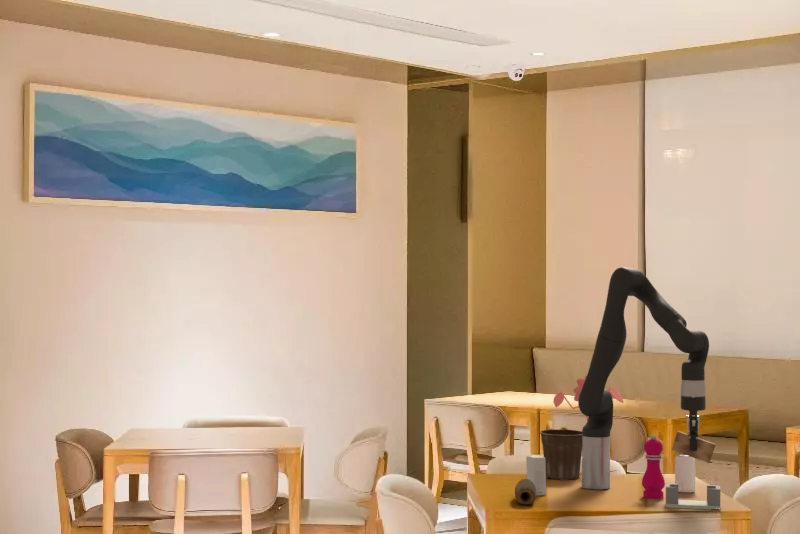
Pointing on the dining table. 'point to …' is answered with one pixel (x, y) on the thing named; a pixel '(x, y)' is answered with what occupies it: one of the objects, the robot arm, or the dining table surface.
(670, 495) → the holder
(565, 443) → the plant pot
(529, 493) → the brown twine roll
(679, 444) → the slat
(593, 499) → the dining table surface
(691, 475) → the can
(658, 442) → the pepper mill
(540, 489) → the skincare box
